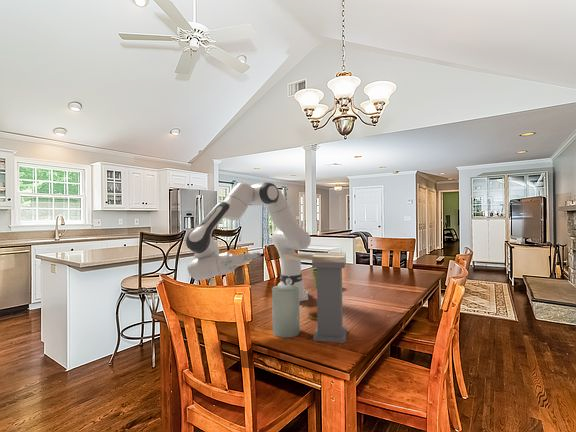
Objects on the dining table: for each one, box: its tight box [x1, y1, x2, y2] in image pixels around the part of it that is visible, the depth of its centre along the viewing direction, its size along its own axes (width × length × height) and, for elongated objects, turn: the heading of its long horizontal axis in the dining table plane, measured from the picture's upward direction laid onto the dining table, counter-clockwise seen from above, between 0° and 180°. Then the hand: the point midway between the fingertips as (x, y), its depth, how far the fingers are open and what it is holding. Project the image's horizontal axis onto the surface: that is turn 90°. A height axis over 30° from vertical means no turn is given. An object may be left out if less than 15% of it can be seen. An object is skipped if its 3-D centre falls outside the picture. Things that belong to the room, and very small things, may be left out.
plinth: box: [311, 258, 348, 344], centre depth 123 cm, size 12×12×30 cm
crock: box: [271, 285, 301, 339], centre depth 128 cm, size 11×11×18 cm
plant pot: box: [311, 267, 317, 289], centre depth 200 cm, size 12×12×11 cm
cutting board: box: [284, 252, 347, 263], centre depth 124 cm, size 12×24×2 cm, turn 77°
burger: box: [307, 306, 317, 322], centre depth 145 cm, size 10×9×5 cm
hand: (258, 254), depth 131 cm, fingers open, 8 cm apart
